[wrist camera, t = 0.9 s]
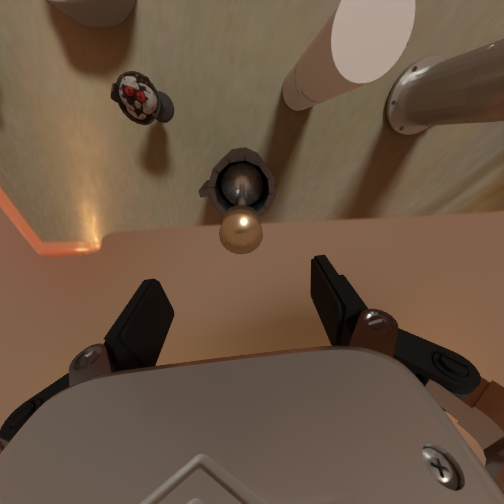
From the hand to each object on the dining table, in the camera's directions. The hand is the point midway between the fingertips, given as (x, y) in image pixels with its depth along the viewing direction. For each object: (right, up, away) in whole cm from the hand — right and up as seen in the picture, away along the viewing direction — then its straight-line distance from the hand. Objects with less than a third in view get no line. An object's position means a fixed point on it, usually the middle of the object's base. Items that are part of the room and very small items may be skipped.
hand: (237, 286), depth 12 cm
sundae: (-17, +31, +27) cm, 45 cm away
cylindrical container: (+10, +35, +27) cm, 45 cm away
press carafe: (-3, +20, +34) cm, 40 cm away
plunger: (-1, +15, +24) cm, 28 cm away
